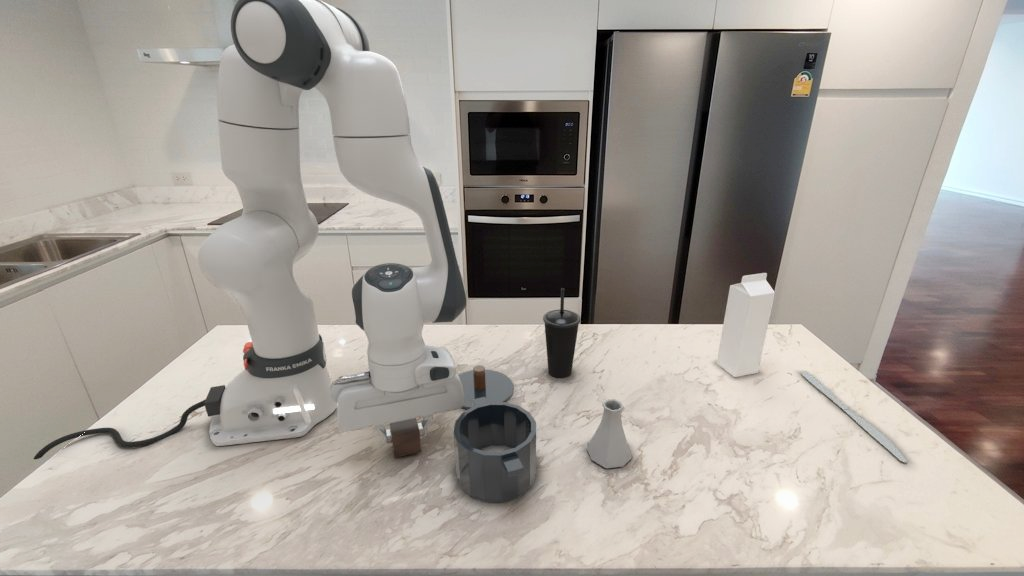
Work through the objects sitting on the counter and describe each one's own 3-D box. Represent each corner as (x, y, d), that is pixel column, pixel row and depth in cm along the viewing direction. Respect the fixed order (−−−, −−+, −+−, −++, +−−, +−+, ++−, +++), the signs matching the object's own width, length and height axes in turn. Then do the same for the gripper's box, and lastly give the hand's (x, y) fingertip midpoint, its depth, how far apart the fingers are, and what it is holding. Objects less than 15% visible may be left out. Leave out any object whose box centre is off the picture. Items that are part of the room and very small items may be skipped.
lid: (456, 419, 90) (454, 394, 87) (439, 381, 101) (437, 358, 99) (523, 403, 94) (523, 379, 92) (500, 369, 106) (500, 346, 104)
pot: (474, 527, 67) (472, 478, 64) (445, 445, 83) (441, 402, 80) (556, 501, 72) (557, 454, 68) (513, 428, 87) (512, 386, 84)
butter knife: (812, 370, 103) (798, 370, 102) (916, 462, 78) (898, 462, 78) (811, 372, 103) (797, 372, 103) (914, 464, 78) (897, 464, 78)
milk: (757, 373, 103) (779, 278, 94) (734, 377, 102) (754, 281, 93) (738, 359, 108) (757, 267, 100) (715, 363, 107) (732, 270, 98)
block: (394, 457, 79) (391, 436, 77) (391, 440, 82) (389, 419, 81) (421, 451, 80) (419, 430, 78) (417, 435, 84) (415, 414, 82)
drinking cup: (576, 386, 99) (580, 297, 92) (539, 382, 101) (540, 295, 93) (579, 366, 106) (583, 283, 98) (544, 363, 108) (546, 280, 100)
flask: (605, 475, 76) (609, 424, 72) (578, 447, 82) (581, 399, 78) (640, 460, 79) (646, 410, 76) (612, 434, 85) (616, 387, 81)
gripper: (328, 390, 69) (340, 465, 75) (465, 366, 76) (468, 436, 81) (328, 368, 75) (340, 439, 80) (456, 347, 81) (459, 414, 86)
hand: (405, 437), depth 81 cm, fingers closed on block, 4 cm apart
